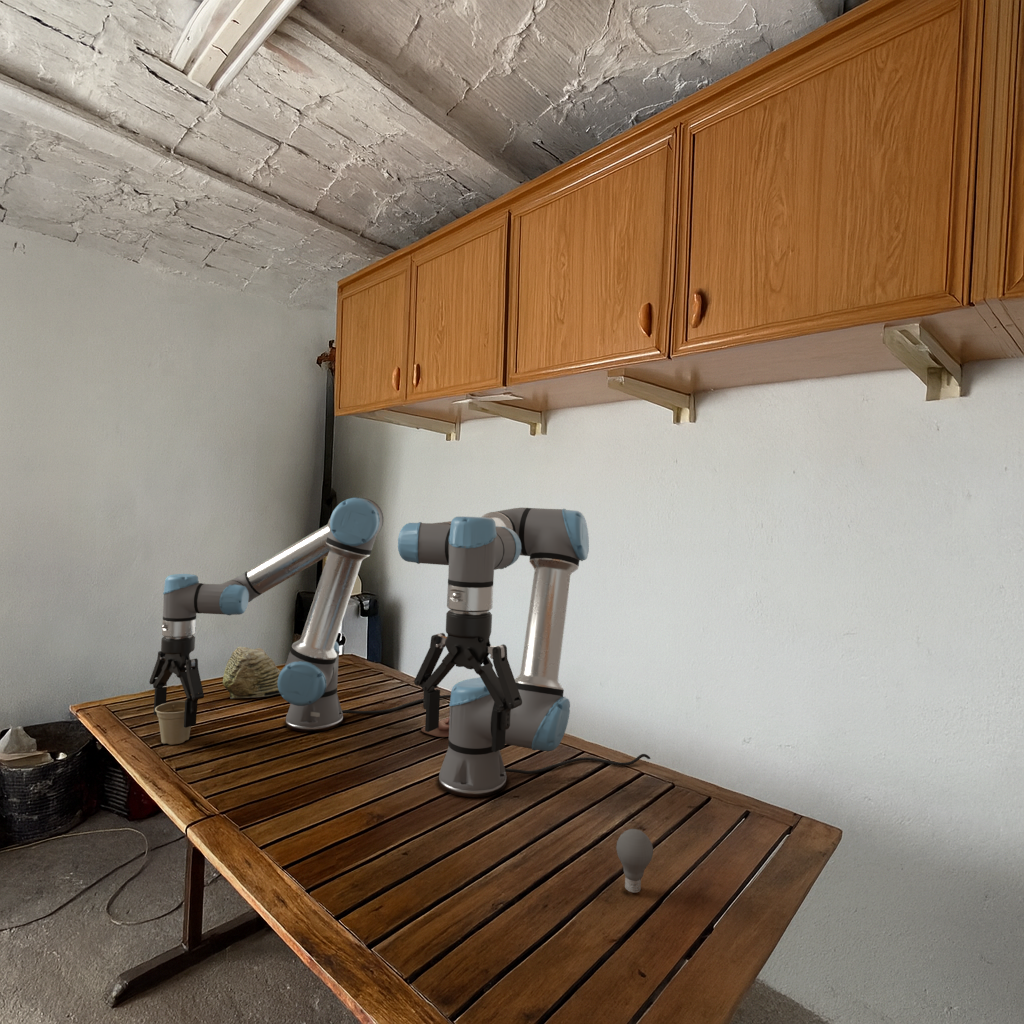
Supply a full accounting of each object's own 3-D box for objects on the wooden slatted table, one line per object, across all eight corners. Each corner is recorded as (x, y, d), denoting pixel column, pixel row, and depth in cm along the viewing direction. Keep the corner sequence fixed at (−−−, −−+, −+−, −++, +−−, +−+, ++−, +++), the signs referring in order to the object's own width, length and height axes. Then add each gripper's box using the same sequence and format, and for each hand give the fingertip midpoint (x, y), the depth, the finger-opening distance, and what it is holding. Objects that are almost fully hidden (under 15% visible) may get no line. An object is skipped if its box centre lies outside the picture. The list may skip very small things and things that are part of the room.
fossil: (218, 695, 195) (220, 647, 195) (278, 685, 208) (279, 640, 207) (228, 703, 189) (230, 653, 188) (289, 692, 201) (290, 645, 201)
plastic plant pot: (146, 741, 159) (147, 707, 158) (182, 730, 166) (183, 698, 166) (166, 750, 154) (168, 715, 153) (203, 739, 161) (204, 705, 161)
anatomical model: (417, 719, 171) (431, 706, 182) (417, 734, 171) (430, 720, 182) (465, 725, 168) (476, 711, 179) (464, 740, 168) (475, 725, 179)
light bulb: (610, 879, 108) (613, 822, 108) (644, 879, 109) (647, 822, 109) (619, 902, 102) (622, 840, 102) (655, 901, 103) (658, 840, 103)
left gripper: (137, 630, 163) (133, 712, 163) (192, 646, 150) (188, 735, 150) (166, 626, 169) (162, 704, 170) (222, 641, 156) (217, 727, 156)
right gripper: (396, 603, 107) (391, 727, 108) (522, 624, 94) (516, 765, 95) (425, 598, 114) (420, 716, 114) (546, 617, 101) (540, 750, 101)
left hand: (174, 719), depth 160 cm, fingers open, 13 cm apart
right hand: (463, 738), depth 104 cm, fingers open, 13 cm apart
